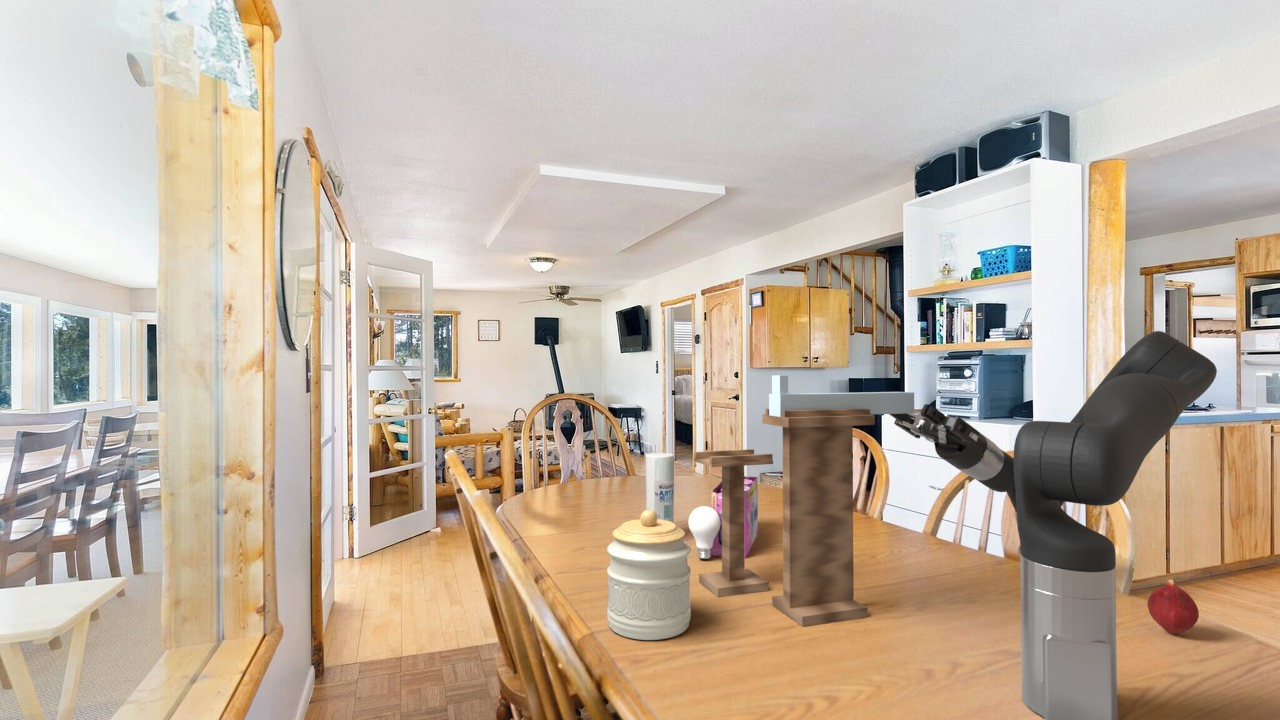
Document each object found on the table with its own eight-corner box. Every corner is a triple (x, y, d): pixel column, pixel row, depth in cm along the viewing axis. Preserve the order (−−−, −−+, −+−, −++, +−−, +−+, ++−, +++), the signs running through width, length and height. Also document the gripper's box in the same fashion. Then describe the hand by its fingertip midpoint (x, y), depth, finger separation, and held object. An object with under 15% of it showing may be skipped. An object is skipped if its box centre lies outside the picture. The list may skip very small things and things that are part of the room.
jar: (617, 647, 90) (617, 522, 90) (599, 613, 102) (599, 504, 102) (703, 636, 93) (703, 516, 93) (675, 604, 106) (675, 499, 106)
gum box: (745, 561, 130) (745, 495, 130) (707, 558, 132) (707, 493, 132) (758, 532, 153) (758, 476, 153) (726, 530, 155) (725, 474, 155)
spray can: (661, 537, 148) (660, 451, 149) (680, 542, 143) (679, 454, 144) (639, 541, 144) (639, 454, 144) (658, 548, 139) (658, 457, 139)
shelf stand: (843, 596, 110) (842, 406, 110) (878, 615, 101) (876, 409, 102) (761, 607, 105) (760, 408, 105) (791, 628, 96) (790, 411, 96)
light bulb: (682, 561, 129) (682, 507, 130) (696, 553, 135) (696, 501, 135) (712, 566, 126) (712, 511, 126) (725, 558, 132) (725, 505, 132)
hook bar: (899, 411, 111) (899, 374, 111) (914, 413, 107) (914, 375, 107) (769, 415, 102) (769, 375, 102) (780, 416, 99) (780, 375, 99)
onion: (1208, 644, 90) (1208, 588, 90) (1162, 640, 91) (1162, 585, 92) (1182, 627, 96) (1182, 575, 96) (1139, 624, 97) (1139, 572, 97)
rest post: (752, 576, 120) (751, 449, 121) (773, 590, 113) (773, 454, 113) (694, 582, 116) (693, 451, 117) (712, 597, 109) (712, 457, 109)
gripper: (946, 429, 121) (886, 387, 116) (1012, 436, 107) (946, 389, 103) (931, 464, 119) (869, 423, 115) (995, 476, 106) (927, 430, 101)
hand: (905, 407), depth 109 cm, fingers open, 8 cm apart
